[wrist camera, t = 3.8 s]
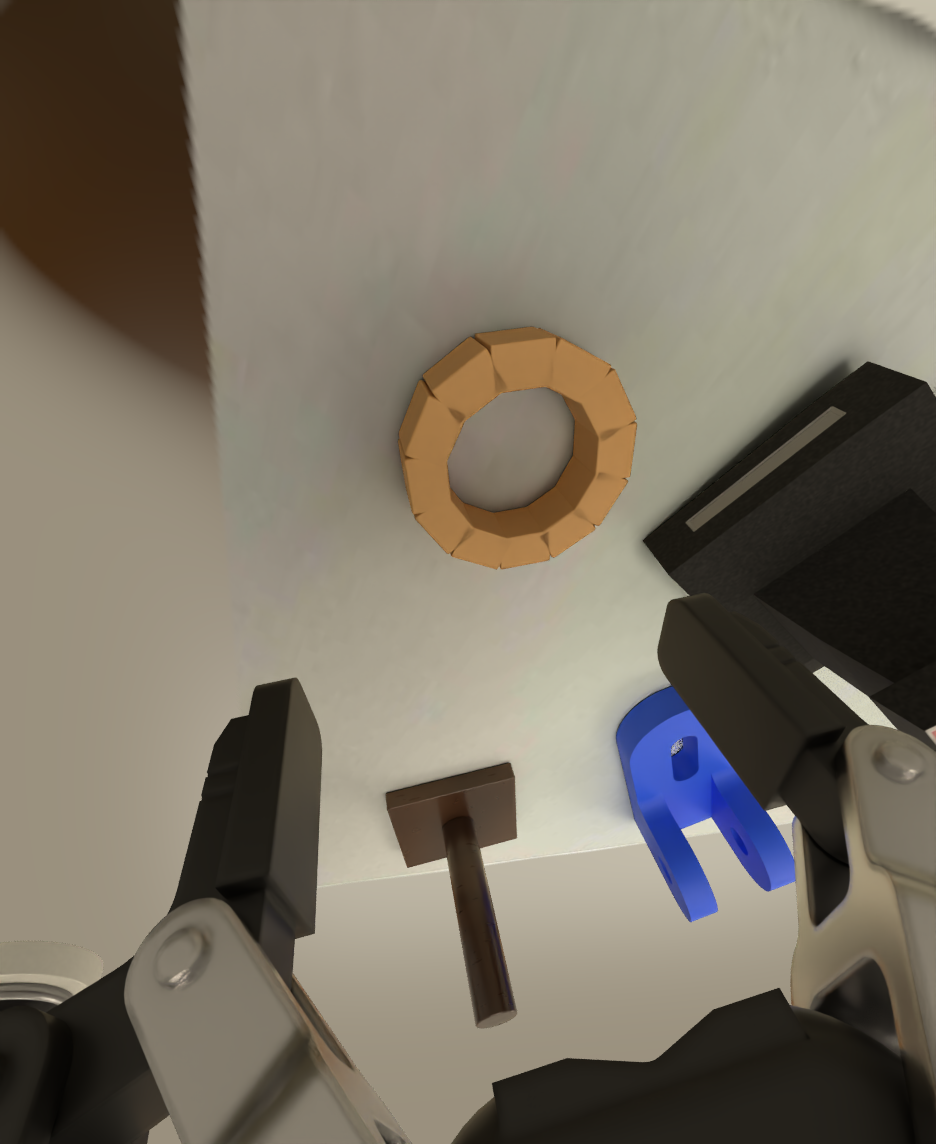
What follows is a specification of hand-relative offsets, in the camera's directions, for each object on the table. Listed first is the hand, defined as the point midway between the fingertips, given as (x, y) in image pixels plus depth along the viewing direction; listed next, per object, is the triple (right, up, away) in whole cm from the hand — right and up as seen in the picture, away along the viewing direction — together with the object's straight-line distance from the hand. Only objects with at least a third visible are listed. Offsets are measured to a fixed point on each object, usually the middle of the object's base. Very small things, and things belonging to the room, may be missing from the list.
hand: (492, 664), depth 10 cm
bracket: (+16, -13, +28) cm, 35 cm away
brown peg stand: (-2, -16, +26) cm, 31 cm away
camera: (+19, +5, +17) cm, 26 cm away
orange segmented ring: (+1, +7, +10) cm, 13 cm away
